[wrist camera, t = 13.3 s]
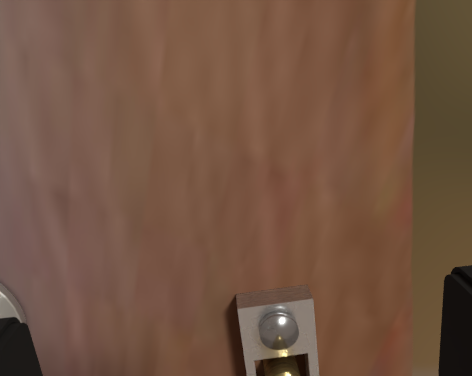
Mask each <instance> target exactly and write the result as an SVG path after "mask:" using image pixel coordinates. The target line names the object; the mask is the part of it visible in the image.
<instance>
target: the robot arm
mask: <svg viewBox="0 0 472 376" xmlns="http://www.w3.org/2000/svg"><path fill="white" fill-rule="evenodd" d="M0 376H43V375H42V371H41V368H40V365H39V361H38V358H37V355H36V351H35V348H34V345H33V341H32V338H31V334H30V331H29V328H28V326H27V323H26V318H25V315H24V313H23V310H22V308H21V306H20V304H19V303H18V301H17V300H16V298H15V297H14V296H13V295H12V294H11V293H10V292H9V291H8V289H7V288H6V287H4V286H3V285H2V284H0ZM439 376H472V265H471V266H462V267H455V268H454V269H453V270H452V272H451V274H450V275H447V276H446V277H445V280H444V293H443V308H442V325H441V341H440V357H439Z"/></svg>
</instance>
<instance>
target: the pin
mask: <svg viewBox="0 0 472 376" xmlns="http://www.w3.org/2000/svg"><path fill="white" fill-rule="evenodd" d="M263 367H264V373H265V376H300V373H299V369H298V365H297V362H296V358H295V355H291V356H283V357H276V358H269V359H263Z"/></svg>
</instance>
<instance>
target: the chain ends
mask: <svg viewBox="0 0 472 376" xmlns="http://www.w3.org/2000/svg"><path fill="white" fill-rule="evenodd" d="M236 300H237V310H238V317H239V324H240V331H241V338H242V345H243V352H244V359H245V366H246V373H247V376H256V370H255V363H254V360H262V359H269V358H276V357H283V356H291V355H298V354H304V356H305V367H306V376H319V367H318V355H317V342H316V329H315V316H314V303H313V297H312V295H311V292H310V290H309V287H308V285H300V286H293V287H285V288H278V289H271V290H263V291H256V292H249V293H241V294H236Z"/></svg>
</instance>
